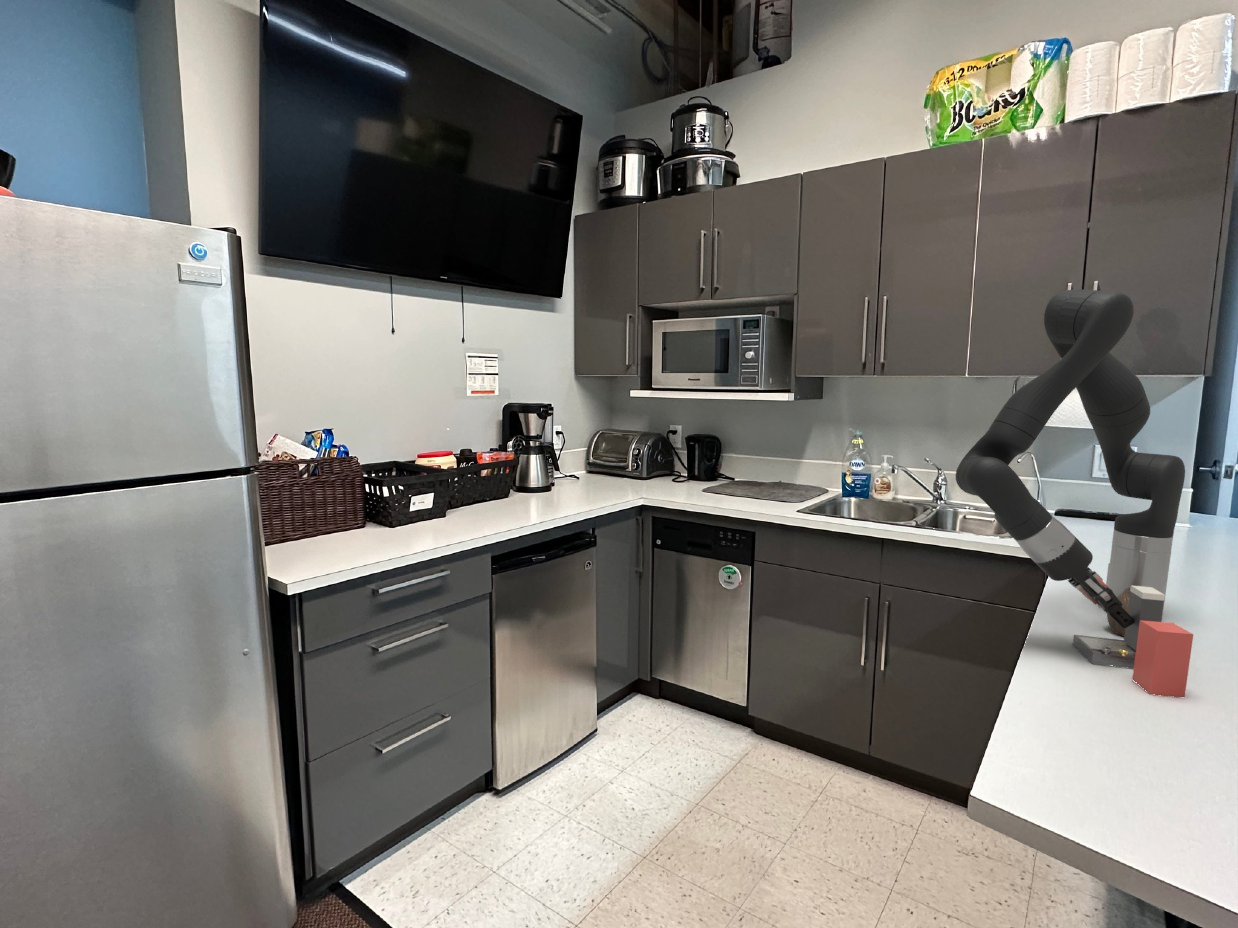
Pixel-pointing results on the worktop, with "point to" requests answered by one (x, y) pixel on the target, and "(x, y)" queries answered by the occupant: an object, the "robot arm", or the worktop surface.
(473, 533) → the worktop surface
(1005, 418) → the robot arm
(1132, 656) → the ball-studded metal plate
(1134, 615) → the block
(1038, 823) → the worktop surface
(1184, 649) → the block
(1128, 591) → the vase
